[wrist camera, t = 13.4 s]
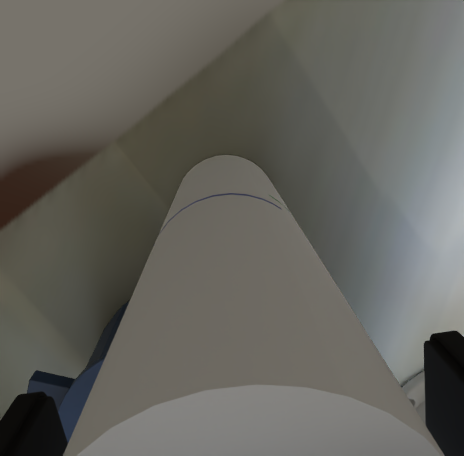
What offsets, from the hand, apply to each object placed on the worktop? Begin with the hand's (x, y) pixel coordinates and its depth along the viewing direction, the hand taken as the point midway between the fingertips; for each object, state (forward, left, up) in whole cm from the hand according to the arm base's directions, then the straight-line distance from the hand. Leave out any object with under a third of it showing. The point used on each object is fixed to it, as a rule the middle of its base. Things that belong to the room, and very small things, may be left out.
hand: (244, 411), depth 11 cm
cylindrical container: (0, 0, -21) cm, 21 cm away
